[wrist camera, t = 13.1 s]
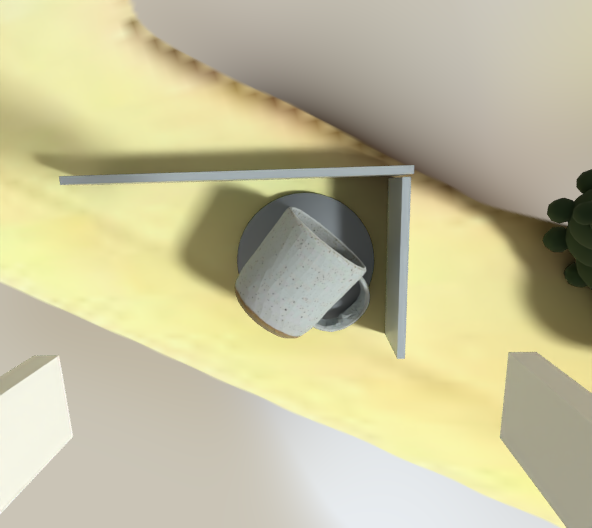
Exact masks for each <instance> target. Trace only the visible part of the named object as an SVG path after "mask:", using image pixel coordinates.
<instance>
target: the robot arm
mask: <svg viewBox="0 0 592 528" xmlns="http://www.w3.org/2000/svg"><path fill="white" fill-rule="evenodd" d="M72 437H73V432H72V427H71V422H70V415H69V410H68V404H67V398H66V392H65V387H64V381H63V375H62V370H61V364H60V358H59V355H57V356H56V355H47V356H33V357H31V358H30V359H28V360H26V361H25V362H23V363H22V364H20V365H18V366H17V367H16V368H14V369H12V370H10V371H9V372H7V373H6V374H4V375H2V376H1V377H0V514H1V513H2V512H3V511H4V510H5V508H6V507H7V506H8V505H9V504H10V503H11V502H12V501H13V500H14V499H15V498H16V496H18V495H19V494H20V493H21V491H22V490H23V489H24V488H25V487H26V486H27V485H28V484H29V483H30V482H31V481H32V480H33V479H34V478H35V476H36V475H37V474H38V473H39V472H40V471H41V470H42V469H43V468H44V467H45V466H46V465H47V464H48V463H49V462H50V461H51V460H52V458H53V457H54V456H55V455H56V454H57V453H58V452H59V451H60V450H61V449H62V448H63V447H64V446H65V445H66V443H68V441H69V440H70V439H71V438H72ZM500 438H501V440H502V441H503V443H504V444H505V445H506V447H507V448H508V449H509V451H510V452H511V453H512V455H513V456H514V457H515V459H516V460H517V461H518V463H519V464H520V465H521V467H522V468H523V469H524V471H525V472H526V473H527V475H528V476H529V477H530V479H531V480H532V482H533V483H534V484H535V486H536V487H537V488H538V490H539V491H540V492H541V494H542V495H543V496H544V498H545V499H546V500H547V502H548V503H549V504H550V506H551V507H552V508H553V510H554V511H555V512H556V514H557V515H558V516H559V518H560V519H561V521H562V522H563V523H564V525H565V526H566V527H567V528H592V393H590V392H589V391H588V390H586V389H585V388H584V387H582V386H581V385H580V384H578V383H577V382H576V381H574V380H573V379H572V378H570V377H569V376H568V375H566V374H565V373H564V372H562V371H561V370H560V369H558V368H557V367H556V366H554V365H553V364H552V363H550V362H549V361H548V360H546V359H545V358H544V357H542V356H541V355H540V354H538V353H537V352H509V353H508V363H507V373H506V383H505V393H504V403H503V412H502V422H501V432H500Z"/></svg>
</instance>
